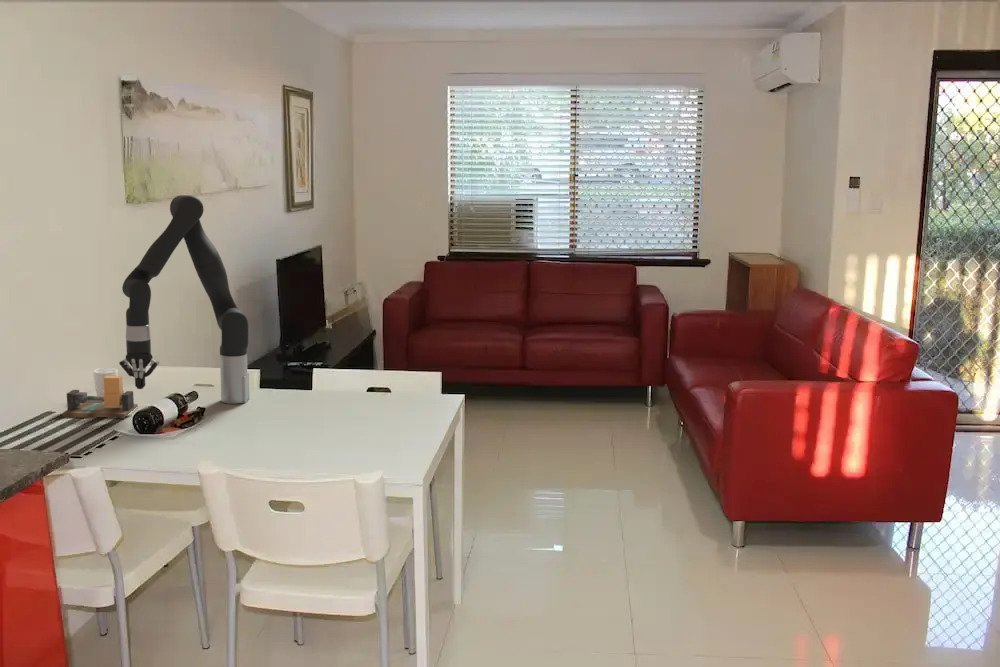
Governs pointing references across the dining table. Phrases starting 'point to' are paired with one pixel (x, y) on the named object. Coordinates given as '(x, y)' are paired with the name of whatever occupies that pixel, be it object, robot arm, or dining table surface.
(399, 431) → the dining table surface
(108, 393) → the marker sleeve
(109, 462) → the dining table surface
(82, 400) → the wooden board with posts
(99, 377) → the white cup
